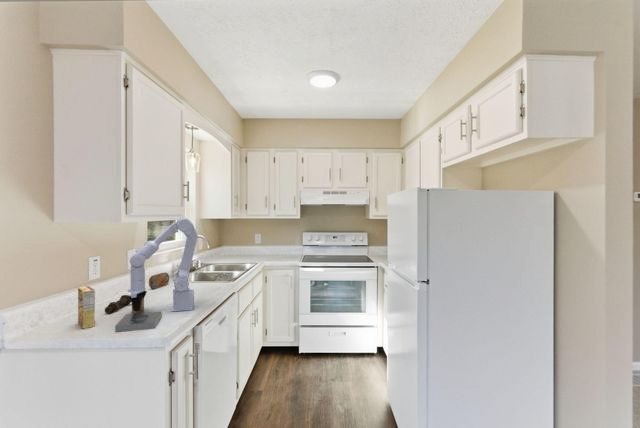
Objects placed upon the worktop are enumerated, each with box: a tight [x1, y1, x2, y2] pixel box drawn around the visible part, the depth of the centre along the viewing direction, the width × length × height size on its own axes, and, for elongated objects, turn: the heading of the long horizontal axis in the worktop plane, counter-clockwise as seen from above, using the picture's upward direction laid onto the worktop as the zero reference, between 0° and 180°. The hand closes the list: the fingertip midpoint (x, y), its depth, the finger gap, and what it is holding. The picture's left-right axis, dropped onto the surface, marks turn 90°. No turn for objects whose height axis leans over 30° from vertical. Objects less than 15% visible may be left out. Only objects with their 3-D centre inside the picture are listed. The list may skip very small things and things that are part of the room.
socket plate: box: [114, 310, 163, 333], centre depth 132 cm, size 14×14×2 cm
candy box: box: [77, 286, 96, 330], centre depth 130 cm, size 9×4×15 cm, turn 49°
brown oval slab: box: [148, 272, 170, 290], centre depth 194 cm, size 15×3×8 cm, turn 167°
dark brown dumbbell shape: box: [103, 294, 132, 314], centre depth 151 cm, size 6×5×15 cm
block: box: [131, 297, 145, 314], centre depth 144 cm, size 4×4×7 cm
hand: (138, 309), depth 144 cm, fingers closed on block, 4 cm apart
